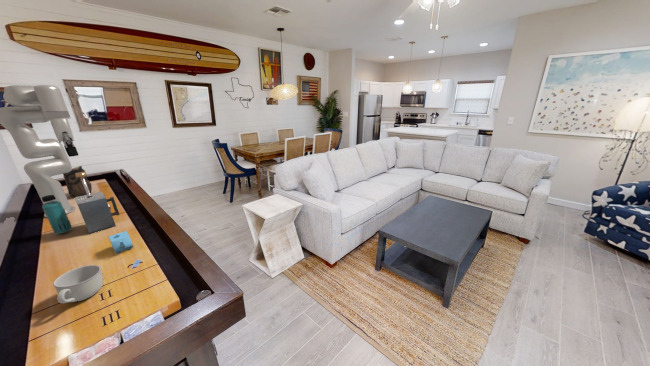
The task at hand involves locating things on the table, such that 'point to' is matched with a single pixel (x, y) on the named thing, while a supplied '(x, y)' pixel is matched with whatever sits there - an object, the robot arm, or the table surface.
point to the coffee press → (97, 211)
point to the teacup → (78, 283)
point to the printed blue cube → (121, 242)
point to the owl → (76, 183)
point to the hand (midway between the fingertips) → (72, 154)
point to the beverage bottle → (56, 215)
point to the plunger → (83, 181)
